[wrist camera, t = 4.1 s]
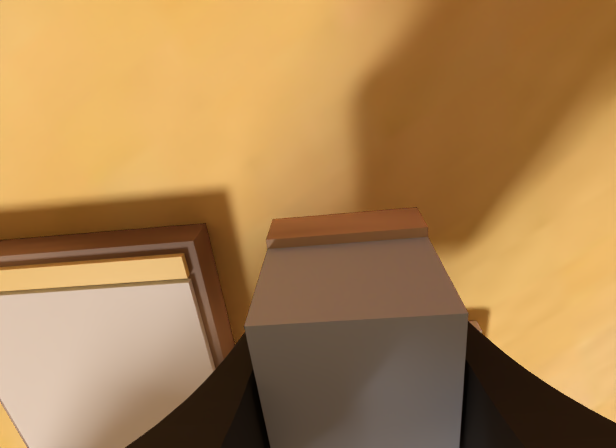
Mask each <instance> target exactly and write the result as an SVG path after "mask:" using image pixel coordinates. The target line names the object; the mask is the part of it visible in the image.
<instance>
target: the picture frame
mask: <svg viewBox="0 0 616 448" xmlns="http://www.w3.org/2000/svg"><path fill="white" fill-rule="evenodd" d="M234 346H235V345H234V340H233V336H232V332H231V328H230V324H229V319H228V315H227V311H226V307H225V303H224V298H223V294H222V290H221V286H220V282H219V277H218V273H217V269H216V265H215V261H214V256H213V252H212V248H211V244H210V240H209V235H208V231H207V227H206V223H203V224H191V225H179V226H167V227H155V228H143V229H131V230H119V231H107V232H95V233H83V234H71V235H59V236H46V237H34V238H22V239H10V240H0V402H1V404H2V406H3V407H4V409H5V411H6V412H7V414H8V416H9V417H10V419H11V421H12V422H13V424H14V426H15V428H16V429H17V431H18V433H19V434H20V436H21V438H22V439H23V441H24V443H25V444H26V446H27V448H125V447H126V446H128V445H129V444H131V443H132V442H133V441H135V440H136V439H138V438H139V437H140V436H142V435H143V434H144V433H146V432H147V431H148V430H150V429H151V428H152V427H154V426H155V425H156V424H158V423H159V422H160V421H161V420H162V419H164V418H165V417H166V416H167V415H168V414H170V413H171V412H172V411H173V410H174V409H176V408H177V407H178V406H179V405H180V404H182V403H183V402H184V401H185V400H186V399H187V398H188V397H189V396H190V395H191V394H192V393H193V392H194V391H195V390H196V389H197V388H198V387H199V386H200V385H201V384H202V383H203V382H204V381H205V380H206V379H207V378H208V377H209V376H210V375H211V374H212V372H213V371H214V370H215V369H216V368H217V367H218V366H219V364H220V363H221V362H222V361H223V360H224V359H225V357H226V356H227V355H228V354H229V352H230V351H231V350H232V349H233V347H234Z"/></svg>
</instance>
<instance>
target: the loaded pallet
mask: <svg viewBox="0 0 616 448" xmlns="http://www.w3.org/2000/svg"><path fill="white" fill-rule="evenodd" d="M266 242H267V248H268V249H267V253H266V256H265V259H264V263H263V266H262V269H261V272H260V276H259V279H258V282H257V286H256V289H255V292H254V295H253V299H252V302H251V305H250V309H249V312H248V315H247V319H246V322H245V325H244V328H245V333H246V338H247V342H248V347H249V351H250V356H251V361H252V365H253V370H254V374H255V379H256V383H257V388H258V393H259V397H260V402H261V406H262V411H263V416H264V420H265V425H266V429H267V434H268V439H269V443H270V448H459V444H460V429H461V415H462V400H463V386H464V371H465V356H466V342H467V327H468V312H467V310H466V308H465V306H464V304H463V302H462V300H461V298H460V296H459V295H458V293H457V291H456V289H455V287H454V285H453V283H452V281H451V279H450V278H449V276H448V274H447V272H446V270H445V268H444V266H443V264H442V262H441V261H440V259H439V257H438V255H437V253H436V251H435V249H434V247H433V245H432V244H431V242H430V240H429V238H428V226H427V224H426V223H425V221H424V219H423V217H422V215H421V214H420V212H419V210H418V208H417V207H415V208H403V209H391V210H379V211H367V212H355V213H342V214H330V215H318V216H306V217H294V218H282V219H273V220H272V223H271V226H270V229H269V232H268V236H267V239H266Z"/></svg>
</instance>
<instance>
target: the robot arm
mask: <svg viewBox="0 0 616 448" xmlns="http://www.w3.org/2000/svg"><path fill="white" fill-rule="evenodd" d="M125 448H270V443H269V439H268V434H267V429H266V425H265V420H264V416H263V411H262V406H261V402H260V397H259V393H258V388H257V383H256V379H255V374H254V370H253V365H252V361H251V356H250V351H249V347H248V342H247V338H246V333H244V334H243V335H242V337H241V338H240V340H239V341H238V342H237V343H236V345H235V346H234V347H233V349H232V350H231V351H230V352H229V354H228V355H227V356H226V357H225V359H224V360H223V361H222V362H221V363H220V364H219V366H218V367H217V368H216V369H215V370H214V371H213V372H212V374H211V375H210V376H209V377H208V378H207V379H206V380H205V381H204V382H203V383H202V384H201V385H200V386H199V387H198V388H197V389H196V390H195V391H194V392H193V393H192V394H191V395H190V396H189V397H188V398H187V399H186V400H185V401H184V402H183V403H182V404H180V405H179V406H178V407H177V408H176V409H174V410H173V411H172V412H171V413H170V414H168V415H167V416H166V417H165V418H164V419H162V420H161V421H160V422H159V423H158V424H156V425H155V426H154V427H152V428H151V429H150V430H148V431H147V432H146V433H144V434H143V435H142V436H140V437H139V438H138V439H136V440H135V441H133V442H132V443H131V444H129V445H128V446H126V447H125ZM459 448H616V423H615V422H613V421H611V420H609V419H607V418H605V417H603V416H601V415H600V414H598V413H596V412H594V411H592V410H590V409H588V408H587V407H585V406H583V405H582V404H580V403H578V402H576V401H575V400H573V399H571V398H569V397H568V396H566V395H564V394H563V393H561V392H559V391H558V390H556V389H555V388H553V387H551V386H550V385H548V384H547V383H545V382H544V381H542V380H541V379H540V378H538V377H537V376H535V375H534V374H532V373H531V372H529V371H528V370H526V369H525V368H524V367H522V366H521V365H519V364H518V363H517V362H516V361H514V360H513V359H512V358H510V357H509V356H508V355H507V354H505V353H504V352H503V351H502V350H500V349H499V348H498V347H497V346H496V345H494V344H493V343H492V342H491V341H490V340H489V339H488V338H486V337H485V336H484V335H483V334H482V333H481V332H480V331H479V330H477V329H476V328H475V327H474V326H473V325H472V324H471V323H470V322H469V321H468V327H467V342H466V356H465V371H464V386H463V400H462V415H461V429H460V444H459Z"/></svg>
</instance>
